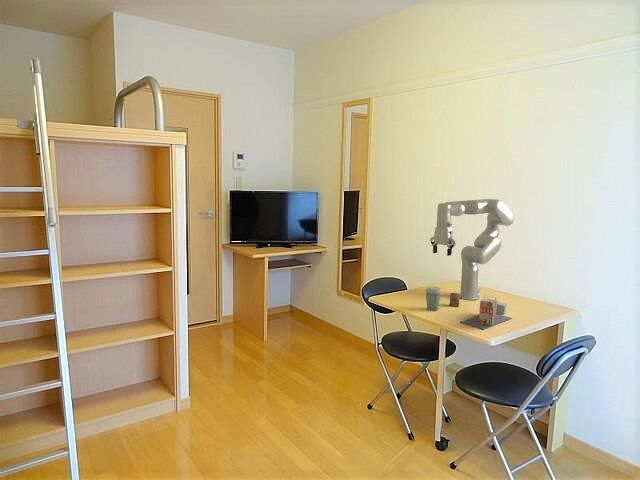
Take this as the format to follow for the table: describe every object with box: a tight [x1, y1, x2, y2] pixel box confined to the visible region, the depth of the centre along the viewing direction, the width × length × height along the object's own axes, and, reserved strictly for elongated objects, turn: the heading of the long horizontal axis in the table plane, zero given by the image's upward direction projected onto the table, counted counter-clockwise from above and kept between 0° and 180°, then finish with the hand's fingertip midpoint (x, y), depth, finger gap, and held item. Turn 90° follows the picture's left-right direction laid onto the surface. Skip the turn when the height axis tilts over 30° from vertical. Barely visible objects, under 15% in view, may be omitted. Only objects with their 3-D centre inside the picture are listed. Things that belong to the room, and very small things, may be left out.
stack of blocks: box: [479, 294, 498, 327], centre depth 231 cm, size 21×6×12 cm, turn 153°
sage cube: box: [496, 301, 508, 316], centre depth 245 cm, size 5×5×5 cm
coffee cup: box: [425, 286, 442, 312], centre depth 248 cm, size 8×8×12 cm
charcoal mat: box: [459, 313, 513, 331], centre depth 231 cm, size 27×13×1 cm, turn 129°
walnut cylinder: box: [449, 292, 460, 308], centre depth 256 cm, size 5×5×7 cm
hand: (442, 254), depth 261 cm, fingers open, 9 cm apart
